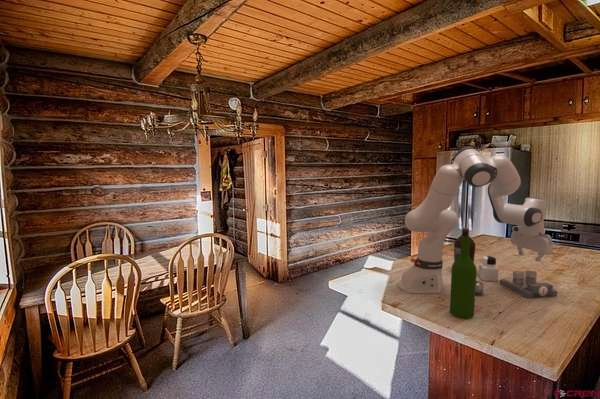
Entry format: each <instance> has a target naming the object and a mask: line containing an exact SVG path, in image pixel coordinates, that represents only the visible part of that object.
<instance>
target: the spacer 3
mask: <svg viewBox="0 0 600 399" xmlns="http://www.w3.org/2000/svg"><path fill="white" fill-rule="evenodd" d="M537 275H538V273H537V272H536V271H535V270H530V269H529V270H525V272H524V277H525V282H527V283H532V284H535V283H536V281H537Z"/></svg>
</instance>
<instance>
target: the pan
mask: <svg viewBox="0 0 600 399" xmlns="http://www.w3.org/2000/svg"><path fill="white" fill-rule="evenodd" d="M502 279H503V280H504V281H506V282H508V283H510V284H512V285H515V286H517V287H519V288H521V289H528V284H532V283H527V282H525V276H524V284H516V283H513V277H505V278H502ZM536 283H540V282H539V281H537V280H536ZM536 283H535V284H536Z"/></svg>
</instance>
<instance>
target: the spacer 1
mask: <svg viewBox="0 0 600 399" xmlns="http://www.w3.org/2000/svg"><path fill="white" fill-rule="evenodd" d="M484 286H485V284H484V283H483V281H478V280H476V289H475V296H479V297H480V296H481V297H482V296H483V295H484Z"/></svg>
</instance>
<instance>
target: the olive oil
mask: <svg viewBox="0 0 600 399" xmlns="http://www.w3.org/2000/svg"><path fill="white" fill-rule="evenodd" d="M461 229H462V230H461V234H460V236H459V237H457V238H456V239H455V240H454V243H453V260H454V261H453V263H454V262H455V260H456V259H457V258H458V257H459V256H460V254H461V240H462V236H469V237H470V248H469V256H470V258H471V259H472V261H473V263H474V261H475V255H476V254H475V253H476V243H475V241H474V239H472V237H471V236H470V233H469V232H470V231H469V229H470V228H468V227H463V228H461ZM474 264H475V263H474Z"/></svg>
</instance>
